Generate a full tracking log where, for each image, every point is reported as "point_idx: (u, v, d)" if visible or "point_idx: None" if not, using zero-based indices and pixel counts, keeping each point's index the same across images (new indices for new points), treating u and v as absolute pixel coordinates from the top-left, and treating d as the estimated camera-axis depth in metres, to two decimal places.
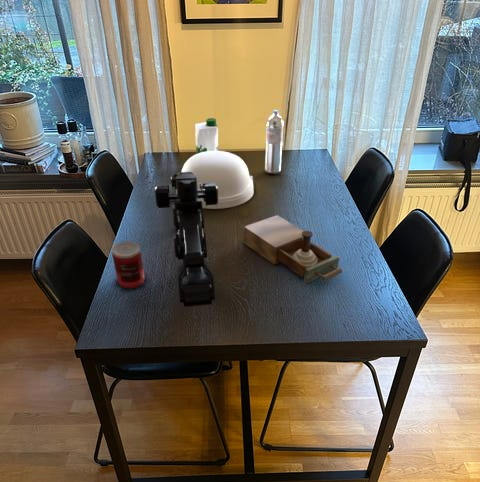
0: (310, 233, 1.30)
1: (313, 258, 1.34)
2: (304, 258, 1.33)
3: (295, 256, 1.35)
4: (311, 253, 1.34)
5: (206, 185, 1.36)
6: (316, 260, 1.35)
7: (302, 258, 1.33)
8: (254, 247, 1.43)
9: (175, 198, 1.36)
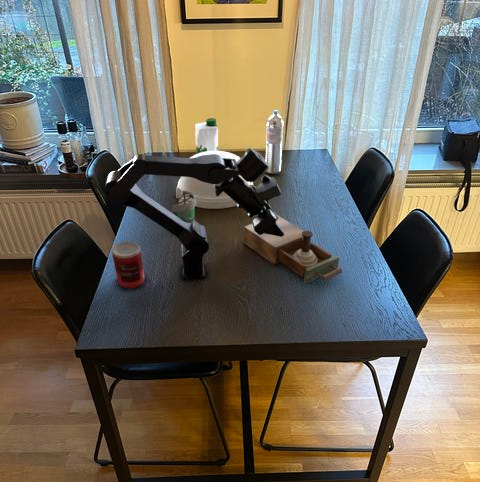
0: (310, 233, 1.30)
1: (313, 258, 1.34)
2: (304, 258, 1.33)
3: (295, 256, 1.35)
4: (311, 253, 1.34)
5: (271, 211, 1.18)
6: (316, 260, 1.35)
7: (302, 258, 1.33)
8: (254, 247, 1.43)
9: None
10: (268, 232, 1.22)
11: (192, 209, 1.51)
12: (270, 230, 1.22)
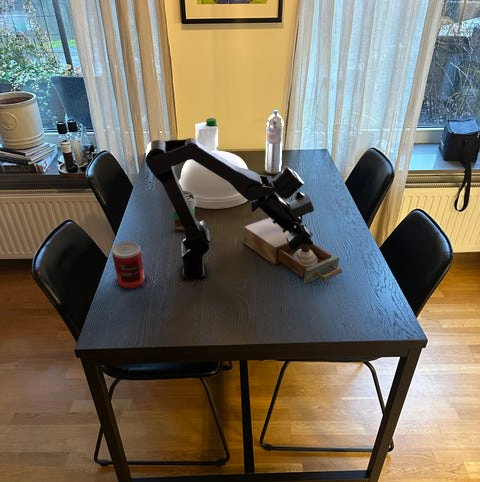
0: (310, 233, 1.30)
1: (313, 258, 1.34)
2: (304, 258, 1.33)
3: (295, 256, 1.35)
4: (311, 253, 1.34)
5: (305, 227, 1.22)
6: (316, 260, 1.35)
7: (302, 258, 1.33)
8: (254, 247, 1.43)
9: None
10: None
11: (192, 209, 1.51)
12: None
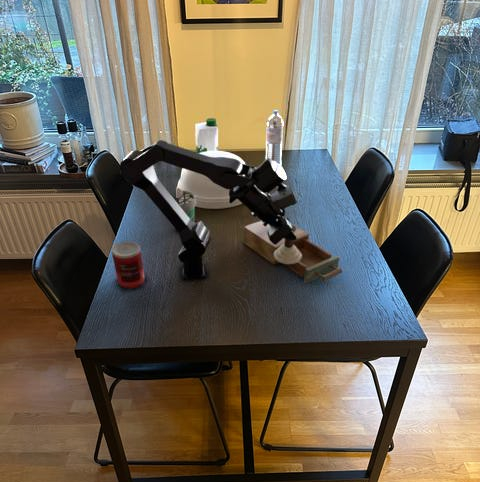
0: (293, 227, 1.23)
1: (297, 254, 1.27)
2: (287, 254, 1.26)
3: (278, 252, 1.28)
4: (295, 248, 1.27)
5: (287, 220, 1.15)
6: (300, 256, 1.28)
7: (285, 254, 1.26)
8: (254, 247, 1.43)
9: None
10: None
11: (192, 209, 1.51)
12: None
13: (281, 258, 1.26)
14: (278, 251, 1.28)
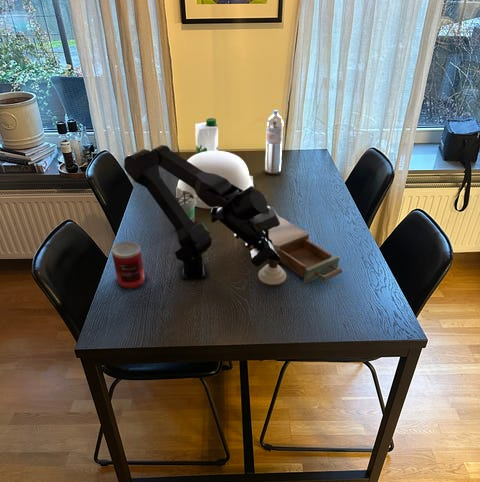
0: (277, 248, 1.22)
1: (281, 274, 1.26)
2: (271, 274, 1.25)
3: (262, 272, 1.27)
4: (279, 269, 1.26)
5: (269, 243, 1.14)
6: (285, 276, 1.27)
7: (269, 274, 1.25)
8: None
9: None
10: None
11: (192, 209, 1.51)
12: None
13: (265, 278, 1.25)
14: (262, 271, 1.27)
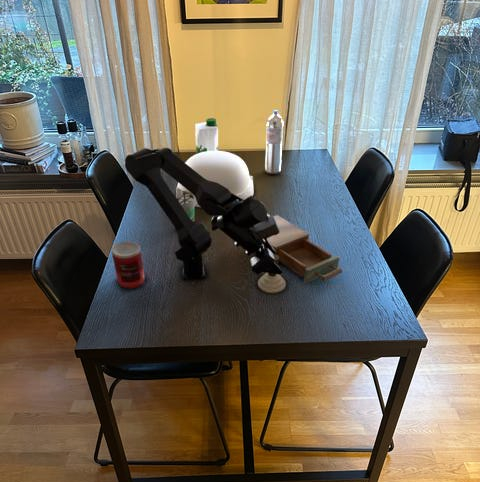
0: (276, 257, 1.24)
1: (281, 282, 1.28)
2: (271, 282, 1.27)
3: (262, 280, 1.29)
4: (278, 277, 1.28)
5: (269, 251, 1.15)
6: (284, 284, 1.29)
7: (269, 283, 1.27)
8: None
9: None
10: (266, 271, 1.19)
11: (192, 209, 1.51)
12: (268, 268, 1.19)
13: (265, 287, 1.27)
14: (262, 279, 1.29)
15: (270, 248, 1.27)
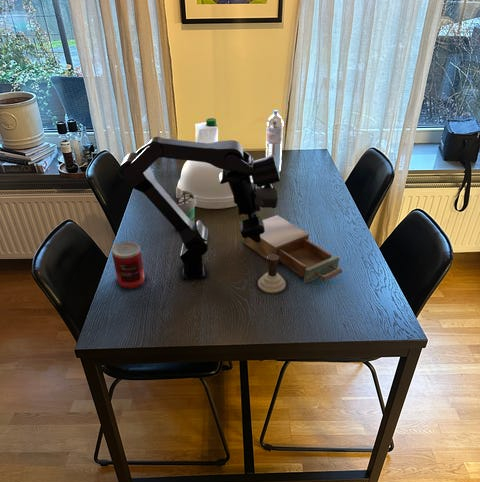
0: (276, 257, 1.24)
1: (281, 282, 1.28)
2: (271, 282, 1.27)
3: (262, 280, 1.29)
4: (278, 277, 1.28)
5: (262, 221, 1.20)
6: (284, 284, 1.29)
7: (269, 283, 1.27)
8: (254, 247, 1.43)
9: None
10: None
11: (192, 209, 1.51)
12: None
13: (265, 287, 1.27)
14: (262, 279, 1.29)
15: None
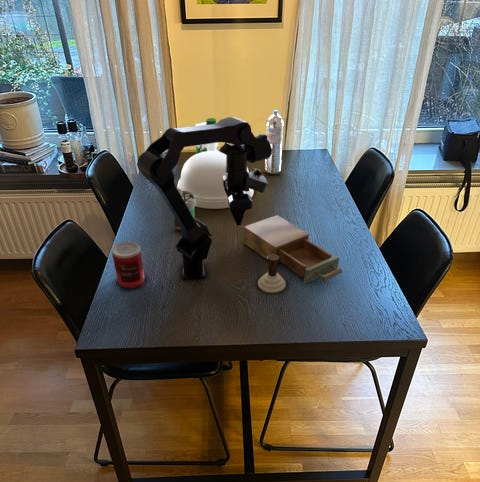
0: (276, 257, 1.24)
1: (281, 282, 1.28)
2: (271, 282, 1.27)
3: (262, 280, 1.29)
4: (278, 277, 1.28)
5: None
6: (284, 284, 1.29)
7: (269, 283, 1.27)
8: (254, 247, 1.43)
9: None
10: (233, 213, 1.26)
11: (192, 209, 1.51)
12: (236, 213, 1.26)
13: (265, 287, 1.27)
14: (262, 279, 1.29)
15: None
